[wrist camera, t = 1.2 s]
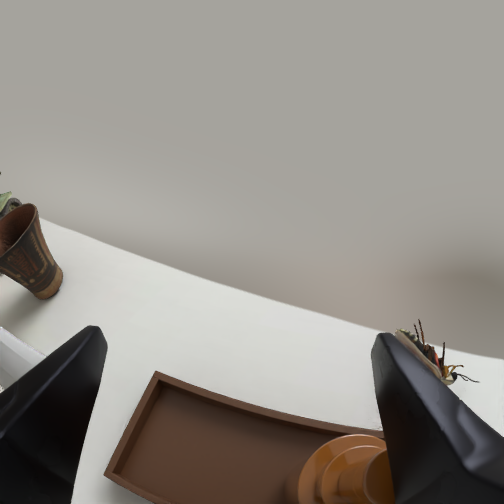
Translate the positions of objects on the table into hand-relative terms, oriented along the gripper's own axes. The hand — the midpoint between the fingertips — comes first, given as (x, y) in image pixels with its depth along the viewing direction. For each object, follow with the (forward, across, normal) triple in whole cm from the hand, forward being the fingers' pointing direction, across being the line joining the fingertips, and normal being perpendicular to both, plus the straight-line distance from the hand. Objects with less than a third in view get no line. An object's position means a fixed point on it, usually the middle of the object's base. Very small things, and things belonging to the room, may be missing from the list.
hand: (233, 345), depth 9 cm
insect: (+9, -17, +11) cm, 22 cm away
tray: (0, -5, +16) cm, 17 cm away
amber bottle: (-1, -5, +16) cm, 17 cm away
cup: (+17, +26, +12) cm, 33 cm away
